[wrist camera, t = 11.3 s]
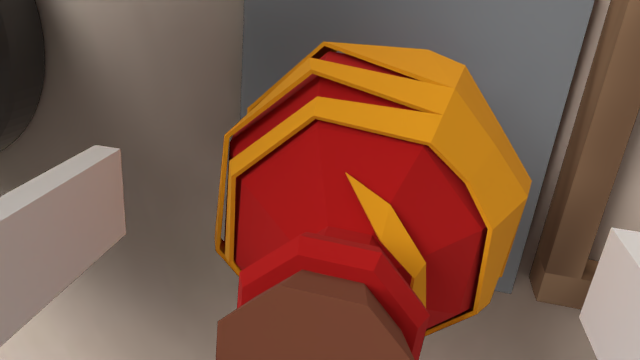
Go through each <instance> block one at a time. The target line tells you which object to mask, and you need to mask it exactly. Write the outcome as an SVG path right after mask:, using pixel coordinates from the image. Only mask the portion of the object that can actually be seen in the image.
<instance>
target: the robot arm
mask: <svg viewBox="0 0 640 360" xmlns="http://www.w3.org/2000/svg"><path fill="white" fill-rule="evenodd" d="M44 65H45V58H44V41H43V34H42V28H41V23H40V18H39V14H38V11H37V7H36V4H35V1H34V0H0V151H1V150H3V149H4V148H6V147H7V146H9V145H10V144H11V143H12V142H13V141H15V140H16V139H17V138H18V137H19V135H20V134H21V133H22V132H23V131H24V129H25V128H26V127H27V125H28V123H29V122H30V120H31V118H32V116H33V114H34V112H35V110H36V107H37V105H38V101H39V98H40V95H41V90H42V85H43V78H44ZM125 234H126V224H125V209H124V194H123V180H122V165H121V150H120V149H119V148H113V147H106V146H100V145H94V146H92V147H90V148H89V149H87V150H85V151H83V152H81V153H79V154H78V155H76V156H74V157H72V158H70V159H68V160H67V161H65V162H63V163H61V164H59V165H57V166H56V167H54V168H52V169H50V170H48V171H46V172H45V173H43V174H41V175H39V176H37V177H35V178H34V179H32V180H30V181H28V182H26V183H24V184H23V185H21V186H19V187H17V188H15V189H13V190H12V191H10V192H8V193H6V194H4V195H2V196H1V197H0V347H1V346H2V345H3V344H4V343H5V342H6V341H7V340H9V339H10V338H11V337H12V336H13V335H14V334H15V333H16V332H17V331H19V330H20V329H21V328H22V327H23V326H24V325H25V324H26V323H28V322H29V321H30V320H31V319H32V318H33V317H34V316H35V315H36V314H38V313H39V312H40V311H41V310H42V309H43V308H44V307H45V306H46V305H48V304H49V303H50V302H51V301H52V300H53V299H54V298H55V297H56V296H58V295H59V294H60V293H61V292H62V291H63V290H64V289H65V288H66V287H68V286H69V285H70V284H71V283H72V282H73V281H74V280H75V279H76V278H78V277H79V276H80V275H81V274H82V273H83V272H84V271H85V270H87V269H88V268H89V267H90V266H91V265H92V264H93V263H94V262H95V261H97V260H98V259H99V258H100V257H101V256H102V255H103V254H104V253H105V252H107V251H108V250H109V249H110V248H111V247H112V246H113V245H114V244H115V243H117V242H118V241H119V240H120V239H121V238H122V237H123V236H124V235H125ZM579 318H580V321H581V323H582V325H583V328H584V330H585V332H586V335H587V337H588V339H589V342H590V344H591V346H592V349H593V351H594V353H595V355H596V358H597V360H640V232H637V231H631V230H625V229H618V228H612V227H611V230H610V232H609V235H608V238H607V241H606V243H605V246H604V249H603V252H602V255H601V257H600V260H599V263H598V266H597V268H596V271H595V274H594V277H593V280H592V282H591V285H590V288H589V291H588V293H587V296H586V299H585V302H584V305H583V307H582V310H581V313H580V316H579Z"/></svg>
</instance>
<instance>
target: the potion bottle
mask: <svg viewBox="0 0 640 360" xmlns="http://www.w3.org/2000/svg"><path fill="white" fill-rule="evenodd" d="M337 51H340V52H343V53H338V52H337ZM344 53H345V54H344ZM232 135H233V137H232V139H231V141H230V147H229V138H230V137H231V136H232ZM228 147H229V165H228V184H227V202H226V220H225V238H224V241H223V240H222V239H221V229H222V217H223V205H224V194H225V182H226V170H227V158H228ZM531 182H532V180H531V178H530V177H529V175H528V173H527V171H526V170H525V168H524V166H523V164H522V163H521V161H520V159H519V157H518V155H517V154H516V152H515V150H514V148H513V147H512V145H511V143H510V141H509V140H508V138H507V136H506V134H505V133H504V131H503V129H502V127H501V125H500V124H499V122H498V120H497V119H496V117H495V115H494V113H493V112H492V110H491V108H490V107H489V105H488V103H487V101H486V100H485V98H484V96H483V95H482V93H481V91H480V90H479V88H478V86H477V84H476V83H475V81H474V79H473V78H472V76H471V74H470V72H469V71H468V69H467V67H466V66H465V65H464V64H461V63H459V62H456V61H454V60H452V59H449V58H447V57H445V56H442V55H440V54H437V53H435V52H433V51H430V50H428V49H415V48H402V47H389V46H376V45H363V44H350V43H337V42H324V41H323V42H322V43H321V44H320V45H319V46H318V47H316V48H315V49H314V50H313V51H312V52H311V53H310V54H308V55H307V56H306V57H305V58H304V59H303V60H302V61H301V62H299V63H298V64H297V65H296V66H295V67H294V68H293V69H291V70H290V71H289V72H288V73H287V74H286V75H285V76H283V77H282V78H281V79H280V80H279V81H278V82H277V83H275V84H274V85H273V86H272V87H271V88H270V89H269V90H267V91H266V92H265V93H264V94H263V95H262V96H261V97H259V98H258V99H257V100H256V101H255V102H254V103H253V104H251V105H250V106H249V107H248V108H247V115H246V116H245V117H243V118H242V119H241V120H240V121H239V122H238V123H237V124H236V125H235V126H234V127H233V128H232V129H231V130H230V131H228V132H227V133H226V134H225V135H224V143H223V154H222V164H221V175H220V185H219V196H218V206H217V216H216V227H215V237H214V238H215V249H216V252H217V253H218V254H219V255H220V256H221V257H222V258H223V259H224V261H225V262H226V263H227V264H228V265H229V266H230V267H231V269H232V270H233V271H234V272H235V273H236V274H237V275H238V276H239V287H238V302H237V309H236V310H234V311H233V312H231V313H230V314H228V315H227V316H225V317H224V318H222V319H221V320H219V321H218V327H217V346H216V360H419V356H420V352H421V348H422V344H423V340H424V336H427V335H429V334H431V333H434V332H436V331H438V330H441V329H443V328H445V327H448V326H450V325H452V324H455V323H457V322H460V321H462V320H464V319H467V318H469V317H471V316H474V315H476V314H478V313H479V312H480V311H481V310H482V309H483V308H484V307H486V306H487V305H488V304H489V303H490V301H491V298H492V295H493V293H494V290H495V287H496V284H497V281H498V279H499V278H500V277H502V275H503V272H504V269H505V266H506V263H507V260H508V257H509V254H510V251H511V248H512V244H513V241H514V238H515V235H516V232H517V229H518V226H519V223H520V220H521V217H522V214H523V210H524V207H525V204H526V201H527V198H528V194H529V190H530V186H531Z"/></svg>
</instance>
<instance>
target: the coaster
mask: <svg viewBox="0 0 640 360" xmlns="http://www.w3.org/2000/svg"><path fill="white" fill-rule="evenodd" d="M594 1H595V0H244V25H243V54H242V83H241V112H240V120H241V119H242V118H243V117H245V116H246V115H247V108H248V107H249V106H250V105H251V104H253V103H254V102H255V101H256V100H257V99H258V98H259V97H261V96H262V95H263V94H264V93H265V92H266V91H267V90H269V89H270V88H271V87H272V86H273V85H274V84H275V83H277V82H278V81H279V80H280V79H281V78H282V77H283V76H285V75H286V74H287V73H288V72H289V71H290V70H291V69H293V68H294V67H295V66H296V65H297V64H298V63H299V62H301V61H302V60H303V59H304V58H305V57H306V56H307V55H308V54H310V53H311V52H312V51H313V50H314V49H315V48H316V47H318V46H319V45H320V44H321V43H322V42H323V41H324V42H337V43H350V44H363V45H376V46H389V47H402V48H415V49H428V50H430V51H433V52H435V53H437V54H440V55H442V56H445V57H447V58H449V59H452V60H454V61H456V62H459V63H461V64H464V65H465V66H466V67H467V69H468V71H469V72H470V74H471V76H472V78H473V79H474V81H475V83H476V84H477V86H478V88H479V90H480V91H481V93H482V95H483V96H484V98H485V100H486V101H487V103H488V105H489V107H490V108H491V110H492V112H493V113H494V115H495V117H496V119H497V120H498V122H499V124H500V125H501V127H502V129H503V131H504V133H505V134H506V136H507V138H508V140H509V141H510V143H511V145H512V147H513V148H514V150H515V152H516V154H517V155H518V157H519V159H520V161H521V163H522V164H523V166H524V168H525V170H526V171H527V173H528V175H529V177H530V178H531V180H532V182H531V186H530V190H529V194H528V198H527V201H526V204H525V207H524V210H523V214H522V217H521V220H520V223H519V226H518V229H517V232H516V235H515V238H514V241H513V244H512V248H511V251H510V254H509V257H508V260H507V263H506V266H505V269H504V272H503V275H502V277H500V278H499V279H498V281H497V284H496V287H495V290H494V291H499V292H504V293H509V294H511V293H512V289H513V286H514V282H515V279H516V275H517V271H518V268H519V264H520V261H521V257H522V254H523V250H524V247H525V243H526V240H527V236H528V233H529V229H530V226H531V222H532V219H533V215H534V212H535V208H536V205H537V201H538V198H539V194H540V191H541V187H542V184H543V180H544V176H545V173H546V169H547V166H548V162H549V159H550V155H551V152H552V148H553V145H554V141H555V138H556V134H557V131H558V127H559V124H560V120H561V117H562V113H563V110H564V106H565V103H566V99H567V96H568V92H569V89H570V85H571V82H572V78H573V74H574V71H575V67H576V64H577V60H578V57H579V53H580V50H581V46H582V43H583V39H584V36H585V32H586V29H587V25H588V22H589V18H590V15H591V11H592V8H593V4H594ZM337 52H338V53H343V52H340V51H337ZM344 54H345V53H344Z"/></svg>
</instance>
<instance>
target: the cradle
mask: <svg viewBox="0 0 640 360" xmlns="http://www.w3.org/2000/svg"><path fill="white" fill-rule="evenodd" d="M639 108H640V0H611V2H610V5H609V8H608V12H607V15H606V19H605V22H604V25H603V29H602V32H601V36H600V39H599V42H598V46H597V49H596V52H595V56H594V59H593V63H592V66H591V69H590V73H589V76H588V79H587V83H586V86H585V90H584V93H583V96H582V100H581V103H580V106H579V110H578V113H577V117H576V120H575V123H574V127H573V130H572V134H571V137H570V140H569V144H568V147H567V150H566V154H565V157H564V161H563V164H562V167H561V171H560V174H559V177H558V181H557V184H556V188H555V191H554V194H553V198H552V201H551V204H550V208H549V211H548V215H547V218H546V221H545V225H544V228H543V232H542V235H541V238H540V242H539V245H538V248H537V252H536V255H535V259H534V262H533V265H532V269H531V272H530V275H529V279H530V282H531V285H532V288H533V292H534V295H535V298H536V301H540V302H545V303H550V304H556V305H561V306H566V307H571V308H577V309H582V307H583V305H584V302H585V299H586V296H587V293H588V291H589V288H590V285H591V282H592V280H593V277H594V274H595V271H596V268H597V266H598V263H599V261H594V260H588V257H589V254H590V251H591V248H592V245H593V242H594V240H595V237H596V234H597V231H598V228H599V225H600V222H601V219H602V216H603V213H604V210H605V207H606V204H607V202H608V199H609V196H610V193H611V190H612V187H613V184H614V181H615V178H616V175H617V172H618V169H619V167H620V164H621V161H622V158H623V155H624V152H625V149H626V146H627V143H628V140H629V137H630V134H631V132H632V129H633V126H634V123H635V120H636V117H637V114H638V111H639Z"/></svg>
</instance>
